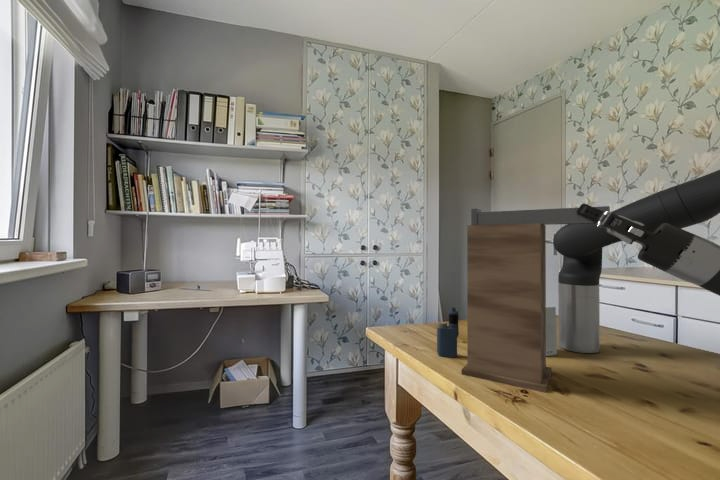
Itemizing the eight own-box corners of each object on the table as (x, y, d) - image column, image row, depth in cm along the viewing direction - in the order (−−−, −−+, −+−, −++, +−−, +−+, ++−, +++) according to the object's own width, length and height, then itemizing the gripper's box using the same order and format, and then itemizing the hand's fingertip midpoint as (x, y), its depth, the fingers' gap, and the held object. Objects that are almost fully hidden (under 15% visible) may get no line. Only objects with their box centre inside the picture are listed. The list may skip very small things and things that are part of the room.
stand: (476, 358, 83) (476, 227, 83) (551, 372, 74) (551, 225, 75) (461, 374, 73) (461, 225, 73) (545, 392, 64) (545, 223, 65)
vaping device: (459, 358, 83) (459, 309, 83) (437, 356, 84) (437, 308, 85) (458, 354, 86) (458, 307, 86) (437, 353, 87) (436, 306, 87)
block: (475, 226, 79) (475, 210, 79) (608, 223, 66) (608, 203, 66) (471, 225, 76) (471, 208, 76) (609, 222, 62) (609, 201, 62)
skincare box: (558, 354, 86) (557, 306, 86) (544, 356, 84) (544, 307, 84) (537, 347, 92) (537, 302, 92) (524, 349, 90) (524, 303, 90)
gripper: (685, 235, 63) (590, 196, 72) (708, 234, 51) (591, 187, 60) (659, 269, 65) (569, 227, 74) (675, 275, 54) (566, 224, 62)
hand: (579, 209), depth 67 cm, fingers open, 5 cm apart
